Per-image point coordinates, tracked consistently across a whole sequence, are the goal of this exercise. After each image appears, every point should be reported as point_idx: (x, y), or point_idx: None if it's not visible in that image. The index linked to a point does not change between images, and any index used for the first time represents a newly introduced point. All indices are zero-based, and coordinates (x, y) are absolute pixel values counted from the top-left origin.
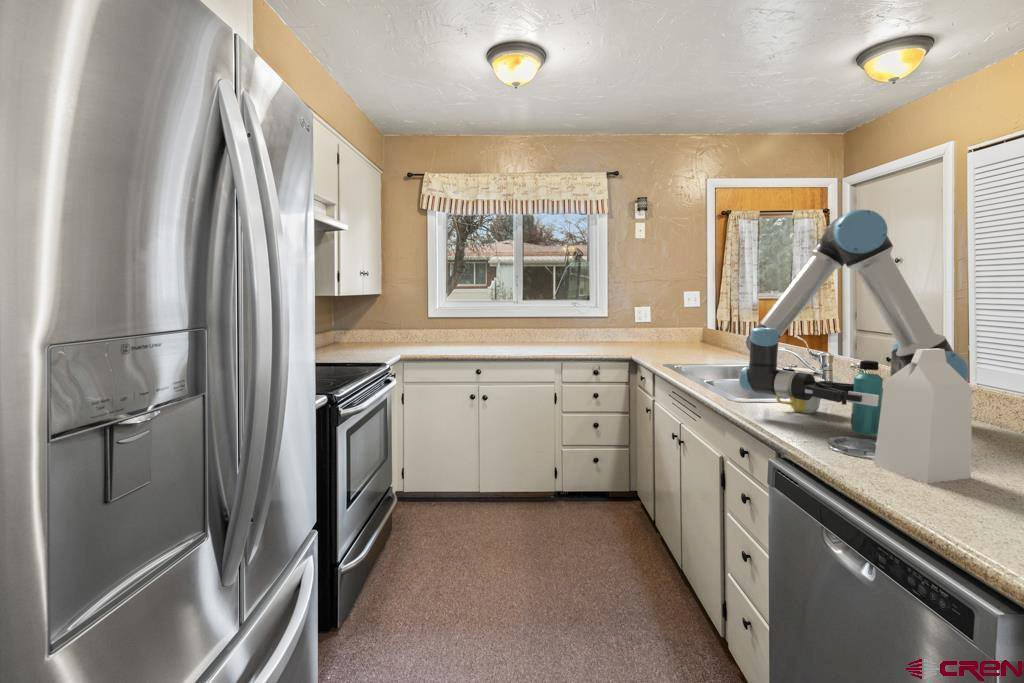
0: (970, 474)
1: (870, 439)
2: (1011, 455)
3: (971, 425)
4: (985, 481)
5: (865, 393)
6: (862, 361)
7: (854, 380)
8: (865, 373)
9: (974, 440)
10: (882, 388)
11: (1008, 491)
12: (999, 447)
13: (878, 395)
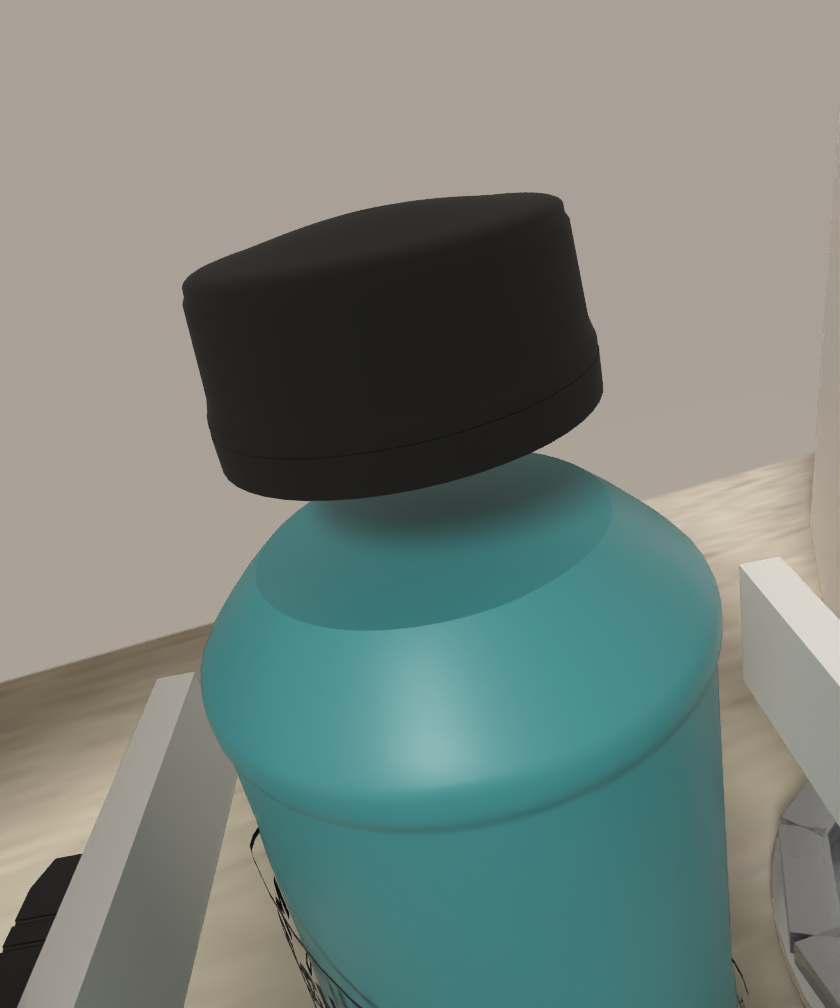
0: (811, 512)
1: (822, 969)
2: None
3: (825, 301)
4: (792, 502)
5: (826, 654)
6: (523, 210)
7: (640, 781)
8: (359, 582)
9: (46, 760)
10: (115, 784)
11: None
12: (147, 670)
13: (747, 565)
